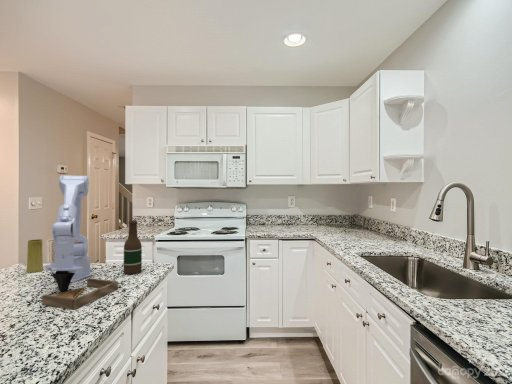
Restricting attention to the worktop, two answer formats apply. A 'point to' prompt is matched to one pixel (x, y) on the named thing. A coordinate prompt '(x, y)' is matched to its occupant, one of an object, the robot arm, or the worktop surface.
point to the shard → (71, 293)
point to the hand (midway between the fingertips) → (63, 291)
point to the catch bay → (74, 304)
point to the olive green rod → (34, 256)
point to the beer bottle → (132, 251)
